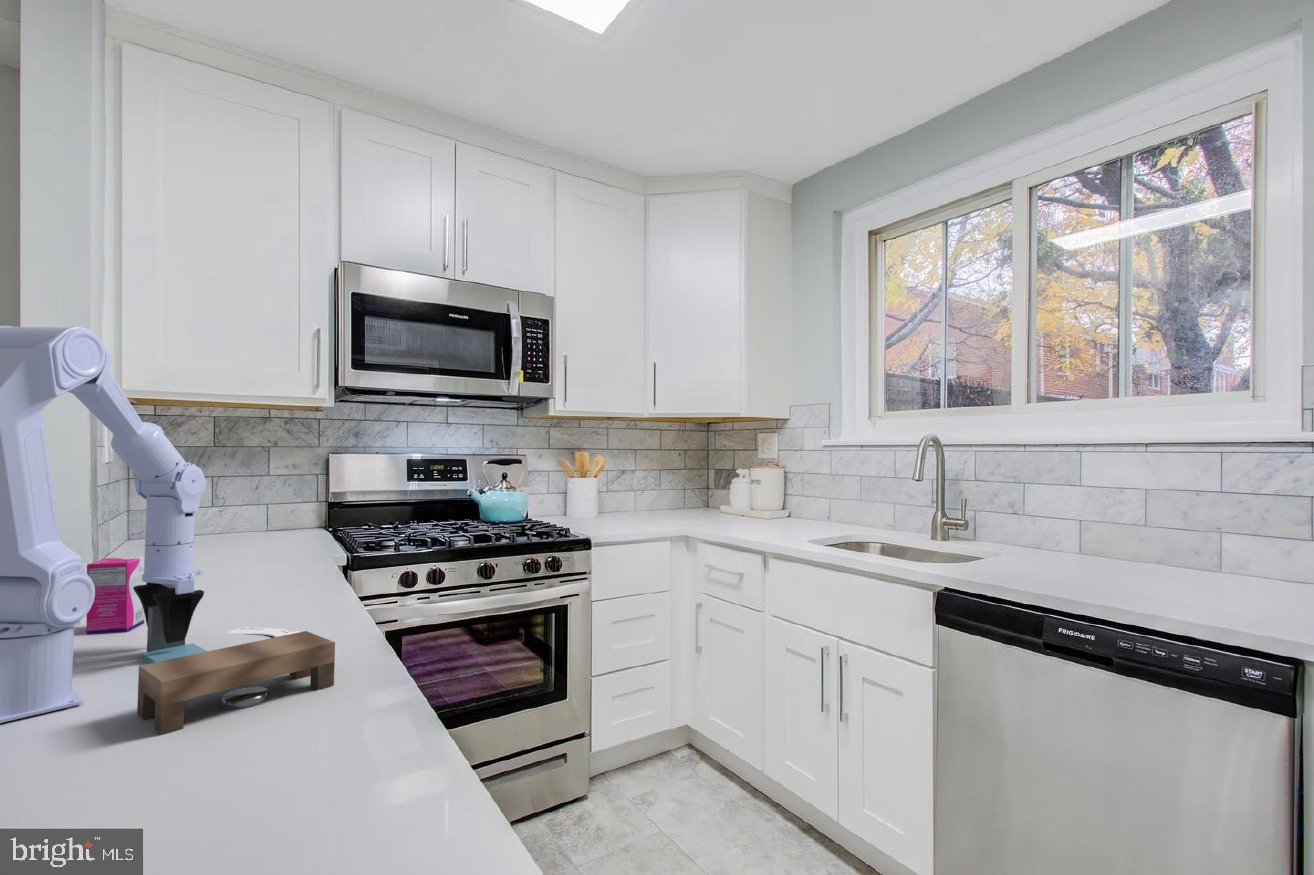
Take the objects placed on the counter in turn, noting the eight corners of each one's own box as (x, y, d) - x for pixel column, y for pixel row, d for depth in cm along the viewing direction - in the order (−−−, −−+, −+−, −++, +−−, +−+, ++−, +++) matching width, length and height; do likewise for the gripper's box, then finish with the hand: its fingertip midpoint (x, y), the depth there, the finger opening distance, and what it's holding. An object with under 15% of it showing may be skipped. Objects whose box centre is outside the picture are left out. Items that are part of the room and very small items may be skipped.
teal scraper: (195, 696, 76) (197, 638, 76) (137, 657, 90) (139, 608, 90) (250, 682, 81) (252, 628, 81) (187, 647, 94) (189, 600, 95)
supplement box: (103, 625, 105) (105, 557, 106) (145, 622, 107) (147, 555, 107) (83, 634, 100) (86, 562, 100) (128, 632, 101) (130, 561, 102)
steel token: (231, 714, 71) (232, 703, 71) (215, 705, 74) (215, 695, 74) (274, 701, 75) (274, 691, 75) (257, 693, 77) (257, 684, 78)
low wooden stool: (160, 734, 65) (162, 682, 66) (137, 714, 70) (138, 665, 70) (333, 685, 80) (335, 642, 80) (304, 671, 85) (306, 630, 85)
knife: (199, 623, 106) (251, 613, 112) (199, 633, 106) (251, 623, 112) (274, 653, 88) (331, 640, 94) (274, 665, 87) (331, 651, 94)
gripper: (220, 545, 91) (217, 639, 90) (185, 536, 99) (182, 621, 99) (160, 550, 85) (156, 651, 85) (128, 540, 94) (125, 631, 93)
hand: (166, 636), depth 91 cm, fingers open, 7 cm apart
